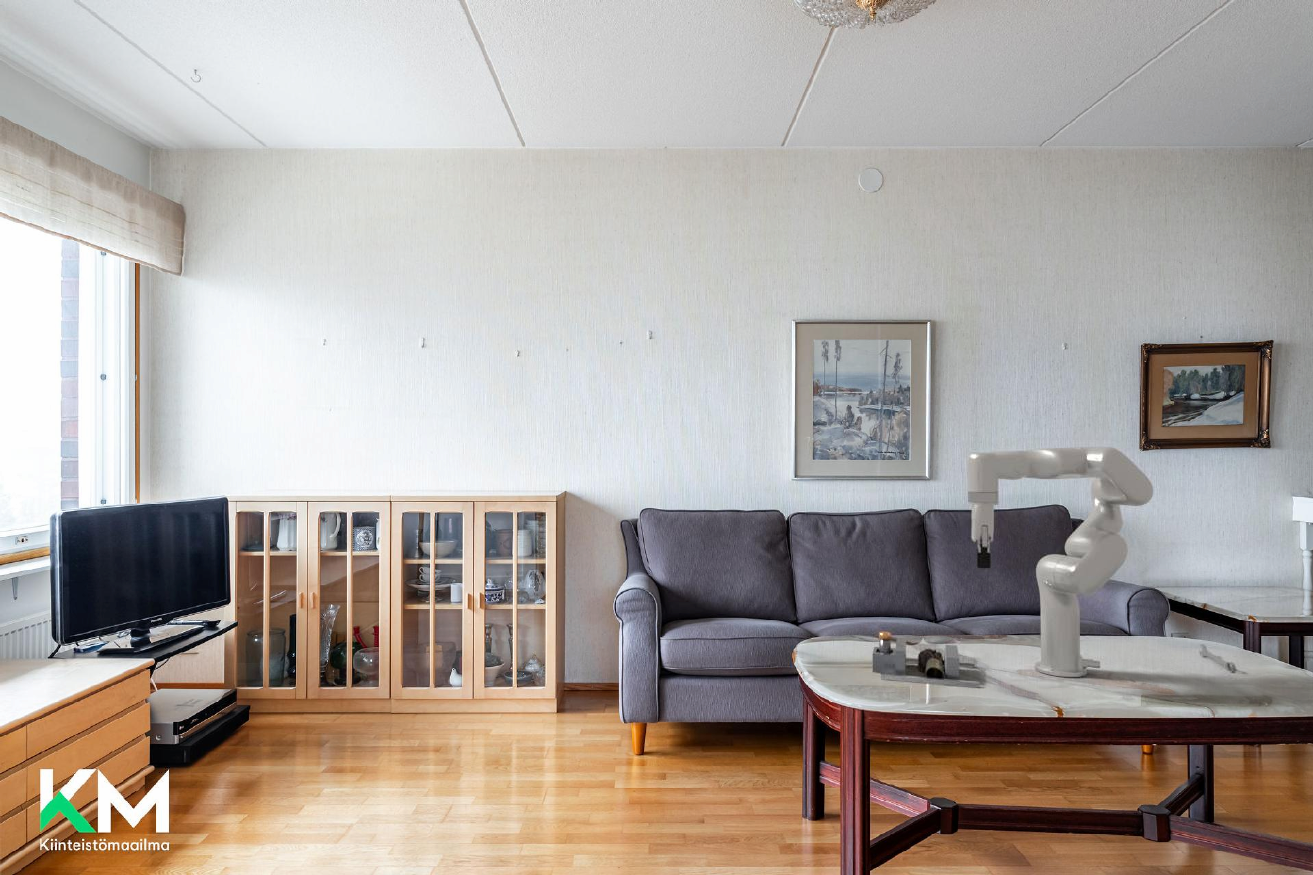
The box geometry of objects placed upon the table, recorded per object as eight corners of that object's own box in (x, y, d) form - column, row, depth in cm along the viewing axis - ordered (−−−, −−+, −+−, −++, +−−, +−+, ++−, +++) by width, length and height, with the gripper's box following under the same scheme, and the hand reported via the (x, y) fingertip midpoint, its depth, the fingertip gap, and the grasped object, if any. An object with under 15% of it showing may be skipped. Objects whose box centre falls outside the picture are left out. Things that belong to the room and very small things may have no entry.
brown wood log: (945, 684, 202) (944, 662, 202) (917, 682, 204) (917, 661, 205) (944, 666, 219) (943, 646, 219) (918, 664, 221) (918, 644, 221)
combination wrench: (1236, 662, 211) (1203, 642, 231) (1230, 661, 212) (1198, 642, 231) (1236, 676, 211) (1203, 655, 231) (1230, 675, 212) (1198, 655, 231)
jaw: (957, 667, 216) (956, 645, 216) (959, 681, 203) (959, 658, 203) (944, 666, 217) (943, 644, 218) (945, 680, 204) (945, 657, 204)
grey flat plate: (974, 666, 218) (974, 662, 218) (979, 687, 199) (979, 683, 199) (884, 659, 226) (884, 655, 226) (881, 679, 206) (881, 674, 206)
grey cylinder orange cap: (879, 667, 218) (879, 631, 218) (891, 668, 217) (891, 631, 217) (878, 670, 215) (878, 633, 215) (891, 671, 214) (890, 634, 214)
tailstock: (906, 664, 221) (906, 639, 221) (905, 677, 207) (904, 651, 208) (875, 661, 223) (874, 637, 224) (871, 674, 210) (871, 648, 210)
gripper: (966, 496, 217) (967, 563, 216) (969, 500, 203) (970, 571, 202) (995, 497, 214) (996, 564, 214) (1001, 500, 200) (1001, 572, 200)
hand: (983, 567), depth 208 cm, fingers closed
